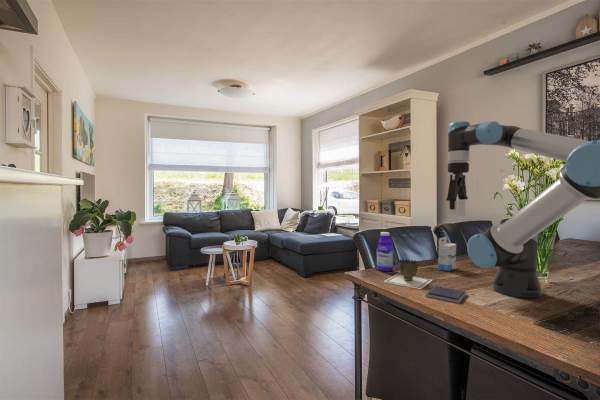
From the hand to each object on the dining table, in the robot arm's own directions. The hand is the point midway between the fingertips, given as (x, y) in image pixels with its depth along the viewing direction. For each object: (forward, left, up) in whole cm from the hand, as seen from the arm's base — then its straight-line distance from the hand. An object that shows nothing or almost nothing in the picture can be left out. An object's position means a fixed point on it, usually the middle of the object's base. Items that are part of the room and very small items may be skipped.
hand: (457, 216), depth 130 cm
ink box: (+9, -23, -27) cm, 37 cm away
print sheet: (+16, +8, -27) cm, 32 cm away
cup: (+16, +8, -27) cm, 32 cm away
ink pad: (-1, +17, -27) cm, 32 cm away
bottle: (+31, -3, -27) cm, 41 cm away
